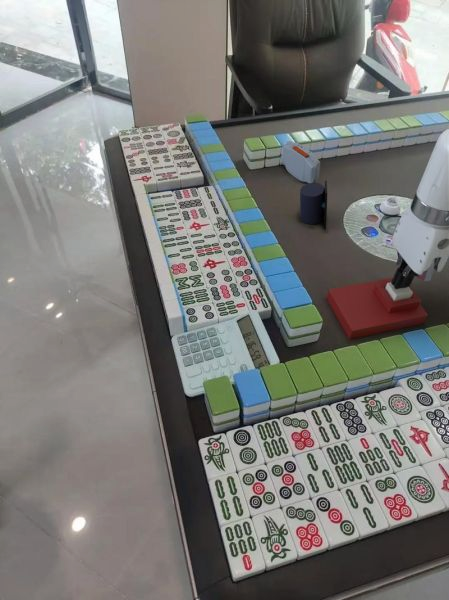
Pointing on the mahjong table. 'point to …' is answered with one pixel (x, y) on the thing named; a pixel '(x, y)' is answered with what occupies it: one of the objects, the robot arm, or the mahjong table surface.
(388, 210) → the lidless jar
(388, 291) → the white square block
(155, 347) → the mahjong table surface
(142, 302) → the mahjong table surface
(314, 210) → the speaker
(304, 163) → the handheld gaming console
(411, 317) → the red rectangular stepped block
